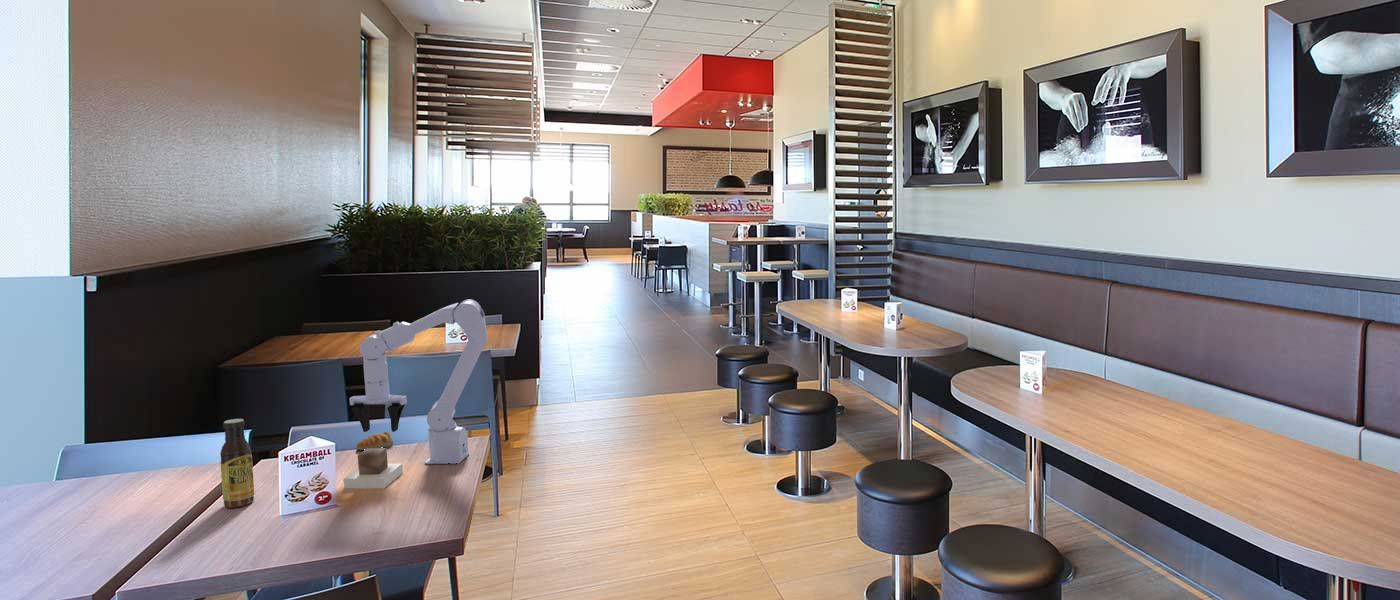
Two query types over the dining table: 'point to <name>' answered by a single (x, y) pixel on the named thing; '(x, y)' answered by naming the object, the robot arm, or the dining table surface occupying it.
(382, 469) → the walnut block
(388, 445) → the pastry
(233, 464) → the sauce bottle
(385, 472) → the base block
